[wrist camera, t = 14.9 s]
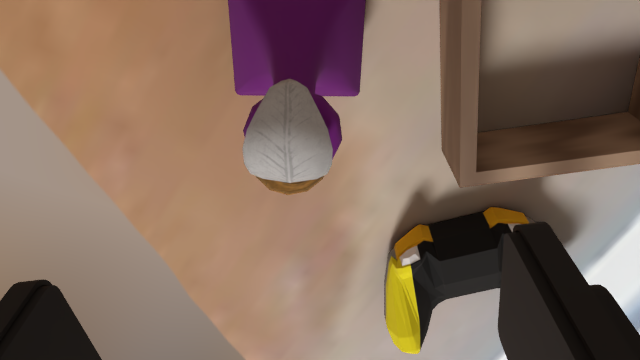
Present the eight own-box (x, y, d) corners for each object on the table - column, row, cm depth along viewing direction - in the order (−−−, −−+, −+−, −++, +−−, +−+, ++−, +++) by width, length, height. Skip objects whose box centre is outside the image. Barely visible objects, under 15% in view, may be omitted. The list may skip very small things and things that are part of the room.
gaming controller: (553, 277, 43) (549, 187, 37) (583, 327, 38) (583, 232, 33) (387, 314, 45) (361, 233, 39) (396, 365, 40) (368, 281, 35)
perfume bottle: (355, 77, 32) (396, 261, 17) (241, 75, 32) (180, 261, 17) (362, -47, 28) (426, 49, 13) (233, -49, 28) (142, 46, 13)
